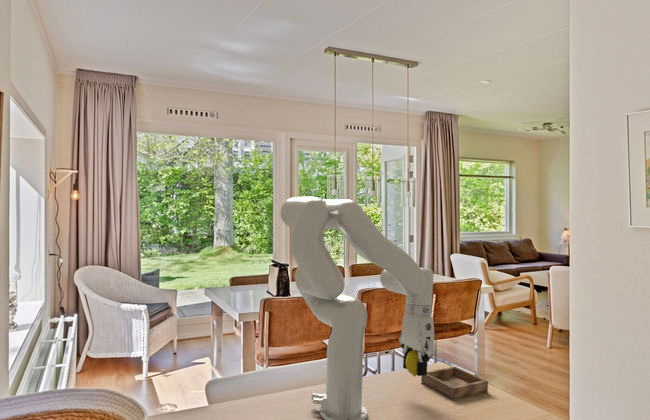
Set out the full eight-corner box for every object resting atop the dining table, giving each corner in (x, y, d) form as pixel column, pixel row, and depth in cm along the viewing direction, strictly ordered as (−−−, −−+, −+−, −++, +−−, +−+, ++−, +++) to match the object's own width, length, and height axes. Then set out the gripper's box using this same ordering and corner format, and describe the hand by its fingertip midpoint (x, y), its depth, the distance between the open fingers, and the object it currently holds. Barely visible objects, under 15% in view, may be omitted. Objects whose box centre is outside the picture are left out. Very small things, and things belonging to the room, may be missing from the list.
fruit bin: (452, 400, 129) (453, 388, 129) (421, 383, 141) (421, 372, 141) (487, 392, 136) (487, 381, 136) (454, 376, 148) (454, 366, 148)
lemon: (424, 380, 127) (425, 352, 128) (404, 378, 129) (406, 350, 129) (423, 374, 133) (425, 347, 133) (404, 372, 134) (406, 345, 134)
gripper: (448, 315, 125) (444, 380, 125) (410, 303, 140) (406, 361, 140) (427, 316, 122) (423, 383, 121) (390, 304, 137) (386, 363, 137)
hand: (414, 370), depth 131 cm, fingers closed on lemon, 5 cm apart
